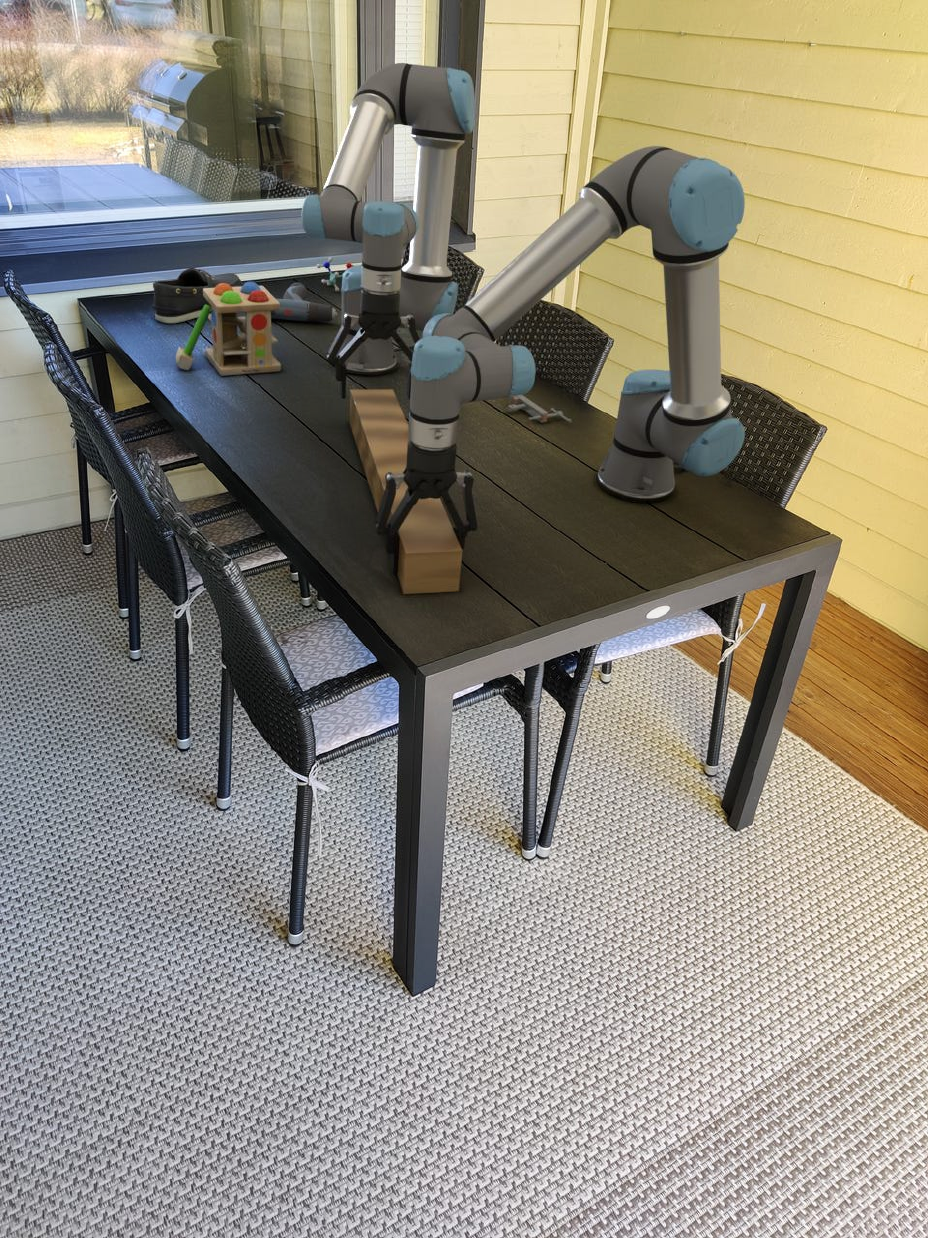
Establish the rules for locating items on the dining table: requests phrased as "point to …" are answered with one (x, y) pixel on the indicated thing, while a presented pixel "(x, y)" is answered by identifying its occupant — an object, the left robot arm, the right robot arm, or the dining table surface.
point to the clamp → (526, 405)
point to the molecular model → (333, 276)
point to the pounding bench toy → (229, 347)
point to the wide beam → (426, 529)
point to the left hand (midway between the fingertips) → (376, 396)
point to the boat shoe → (186, 294)
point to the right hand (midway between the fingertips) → (423, 567)
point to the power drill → (301, 307)
